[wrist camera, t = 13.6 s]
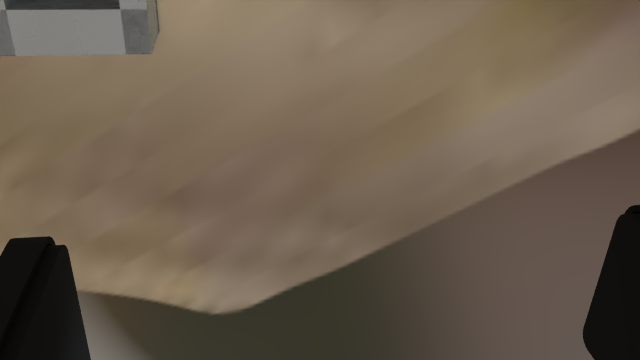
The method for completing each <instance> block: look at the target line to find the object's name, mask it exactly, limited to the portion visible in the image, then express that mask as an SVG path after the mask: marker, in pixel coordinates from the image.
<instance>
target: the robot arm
mask: <svg viewBox="0 0 640 360" xmlns="http://www.w3.org/2000/svg"><path fill="white" fill-rule="evenodd" d="M583 339H584V343H585V346H586V348H587V350H588V351H589V353H590V354H591V355H592V357H593V358H594V359H595V360H640V205H634V206H631V207H629V208H628V210H626V212H625V214H623V215H621V216H620V217H619V218H618V220H617V222H616V225H615V228H614V231H613V235H612V238H611V241H610V244H609V248H608V251H607V254H606V257H605V260H604V264H603V267H602V270H601V273H600V277H599V280H598V283H597V286H596V289H595V293H594V296H593V299H592V302H591V306H590V309H589V312H588V315H587V319H586V322H585V325H584V329H583ZM0 360H91V359H90V353H89V349H88V344H87V339H86V334H85V329H84V325H83V320H82V315H81V310H80V305H79V301H78V296H77V291H76V286H75V281H74V277H73V272H72V267H71V262H70V257H69V253H68V249H67V247H66V246H65V245H55V242H54V240H53V238H51V237H50V236H48V237H29V238H13V239H10V240H9V242H8V243H7V245H6V247H5V248H4V250H3V252H2V254H1V256H0Z"/></svg>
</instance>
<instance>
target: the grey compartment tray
mask: <svg viewBox="0 0 640 360" xmlns="http://www.w3.org/2000/svg"><path fill="white" fill-rule="evenodd" d="M158 34H159V22H158V11H157V1H156V0H0V56H45V55H114V54H152V52H153V49H154V46H155V43H156V40H157V37H158Z"/></svg>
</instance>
